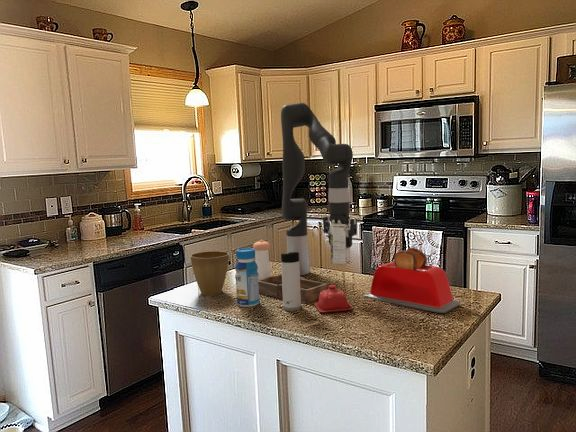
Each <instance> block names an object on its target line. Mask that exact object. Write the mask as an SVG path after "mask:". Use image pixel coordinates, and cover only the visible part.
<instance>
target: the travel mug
mask: <svg viewBox="0 0 576 432" xmlns="http://www.w3.org/2000/svg"><path fill="white" fill-rule="evenodd" d="M280 263H281V264H280V265H281V266H280V267H281V274H282V292H283V299H282V308H283V309H284V310H285V311H290V312H292V311H297V310H300V309H302V303H301V290H300V277H301V275H300V265H299V252H290V253H287V252H286V253H285V252H283V253H280Z"/></svg>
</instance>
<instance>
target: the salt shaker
mask: <svg viewBox="0 0 576 432" xmlns="http://www.w3.org/2000/svg"><path fill="white" fill-rule="evenodd" d="M270 244H271V243H269V242H268V241H264V240H263V239H260V240H259V241H256V242H255V243H253V245H252V248H253V249H255V260H254V261H255V262H256V264H257V266H258V269H257V272H258V274H259V277H258V280H261V279H264V278H268V277H272V273H271V272H272V268H271V262H270V257H269V256H270V255H269V254H270V253H269V250H270V249H271V245H270Z"/></svg>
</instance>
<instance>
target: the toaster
mask: <svg viewBox="0 0 576 432" xmlns="http://www.w3.org/2000/svg"><path fill="white" fill-rule="evenodd" d="M427 264H428V258H427V255H426V254H425V253H424V252H423V251H422V250H420V249H419V248H416V247H408V248H407V249H406V250H398V251H397V252H395V254H394V255H393V261H391V262H390V261H389V262H387V263H384V264H381V265H379V266H378V267H377V268H376V269H375V270H374V273H373V277H372V279H371V285H370V291H368V292H366V293H364V294H363V297H364V298H369V299H372V300H377V301H380V302H385V303H390V305H391V304H392V305H396V306H401V307H405V308H411V309H417V310H422V311H426V312H432V313H439V314H446V313H448V312H450V311H452V310H454V309H455V308H457V307H459V306H460V305H461V301H458V300H454V298H453V293H452V289H451V284H450V282H449V279H448V276H447V273H446V271H445V270H444V269H443V268H442V267H440V266H434V265H427Z"/></svg>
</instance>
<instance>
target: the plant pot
mask: <svg viewBox="0 0 576 432" xmlns="http://www.w3.org/2000/svg"><path fill="white" fill-rule="evenodd" d="M229 256H230V254H229V252H227V251H220V250H213V251H211V250H210V251H209V250H208V251H200V252H194V253H192V254H190V256H189V257H190V261H191V266H192V271H193V274H194V277H195V281H196V283H197V286H198V290H199V291H200V293H201V295H202V296H204V297H205V296H209V297H212V296H213V297H214V296H217V295H220V294H221V293H222V291H223V287H224V286H225V285H224V284H225V281H226V276H227V272H228V264H229Z"/></svg>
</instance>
